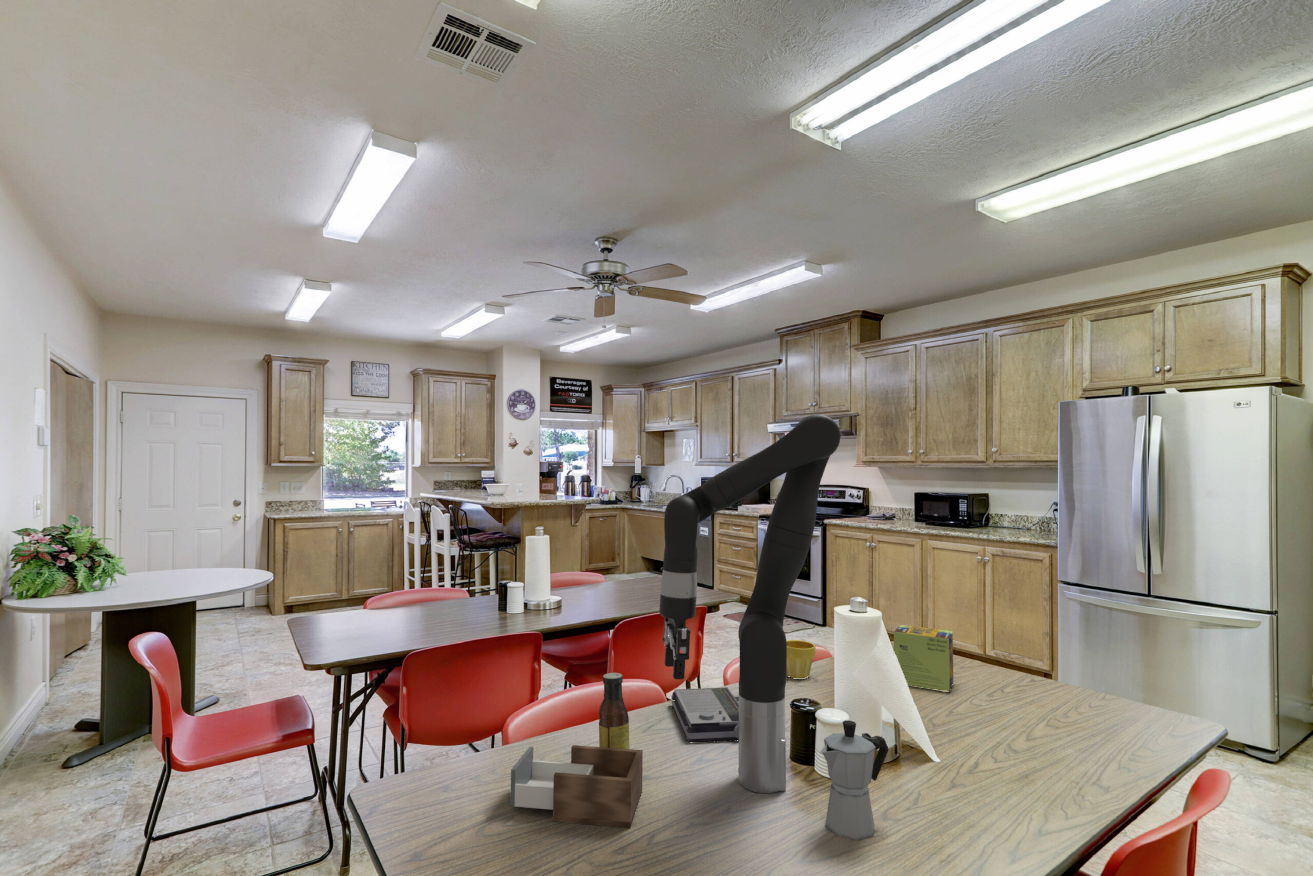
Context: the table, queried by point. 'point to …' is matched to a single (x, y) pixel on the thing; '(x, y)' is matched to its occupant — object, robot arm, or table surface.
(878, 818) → the table surface
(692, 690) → the radio
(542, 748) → the table surface
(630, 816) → the caddy
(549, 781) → the tray
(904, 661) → the protein box
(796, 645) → the plant pot
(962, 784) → the table surface
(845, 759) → the coffee maker
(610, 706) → the sauce bottle
